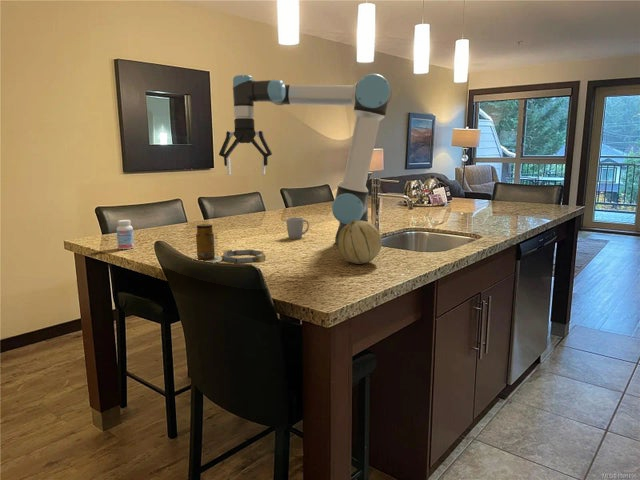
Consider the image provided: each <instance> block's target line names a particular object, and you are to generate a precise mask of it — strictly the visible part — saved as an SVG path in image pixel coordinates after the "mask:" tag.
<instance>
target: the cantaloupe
mask: <svg viewBox="0 0 640 480" xmlns="http://www.w3.org/2000/svg"><path fill="white" fill-rule="evenodd" d="M382 243H383V242H382V236H381V234H380V231H379V230H378V228H377V227H376V226H374V225H373V223H370V222H369V221H368V222H367V221H351V223H349V224H347V225H346V226H345V227H344V228H343V229H342V230H341V231H340V233H339V236H338V244H337V246H338V247H337V248H338V251H339V252H340V254H341V256H342V257H343V258H344V259H345V260H346V261H348V262H349V263H352V264H357V265H361V264H362V265H363V264H367V263H370V262H372V261H374V259H375V258H377V257H378V255H379V253H380V251H381V248H382Z"/></svg>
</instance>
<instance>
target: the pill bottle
mask: <svg viewBox="0 0 640 480" xmlns="http://www.w3.org/2000/svg"><path fill="white" fill-rule="evenodd" d="M117 224H118V226H117V227H116V239H117V248H118V249H119V250H120V249H123V251H124V249H127V250H132V249H131V248H133V249H134V248H135V240H134V239H135V238H134V228H133V226H132V225H131V219H120V220H117Z"/></svg>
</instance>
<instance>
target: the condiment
mask: <svg viewBox="0 0 640 480" xmlns="http://www.w3.org/2000/svg"><path fill="white" fill-rule="evenodd" d="M195 240H196V242H195V243H196V244H195V245H196V254H197V256H196V257H194V259H198V260H203V261H214V260H218V259H222V260H223V259H224V256H218V257H215V256H216V254H215V252H216V251H215V236H214V232H213V225H212V224H210V223H208V224H207V223H206V224H205V223H202V224H197V226H196V233H195Z"/></svg>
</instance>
